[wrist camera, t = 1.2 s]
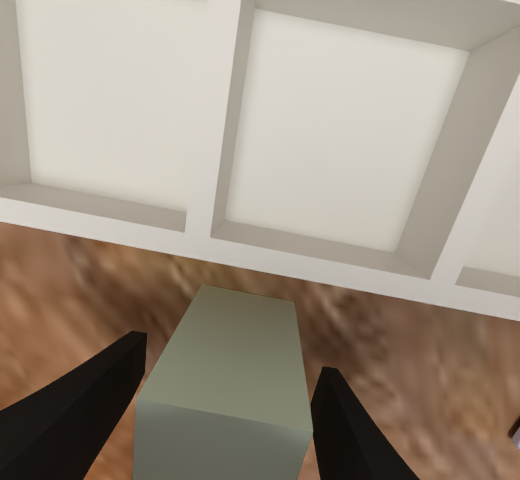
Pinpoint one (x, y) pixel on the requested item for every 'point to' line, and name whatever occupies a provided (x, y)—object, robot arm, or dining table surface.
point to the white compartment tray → (275, 137)
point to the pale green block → (226, 394)
